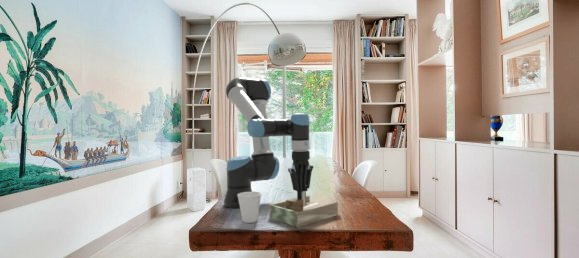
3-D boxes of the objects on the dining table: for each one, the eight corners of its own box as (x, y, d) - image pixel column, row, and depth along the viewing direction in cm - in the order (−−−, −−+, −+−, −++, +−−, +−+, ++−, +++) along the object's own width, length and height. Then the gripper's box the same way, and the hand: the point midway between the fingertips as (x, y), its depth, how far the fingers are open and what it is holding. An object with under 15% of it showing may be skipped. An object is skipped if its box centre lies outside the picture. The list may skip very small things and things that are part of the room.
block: (286, 212, 131) (286, 199, 131) (295, 209, 134) (294, 197, 134) (294, 214, 127) (294, 201, 127) (303, 211, 131) (303, 199, 131)
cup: (258, 225, 123) (257, 197, 123) (233, 224, 125) (233, 196, 125) (265, 217, 133) (264, 191, 133) (242, 216, 135) (242, 191, 135)
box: (269, 217, 133) (269, 204, 133) (308, 207, 149) (308, 195, 149) (298, 227, 120) (298, 213, 120) (337, 214, 136) (337, 202, 136)
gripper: (295, 152, 126) (296, 211, 126) (317, 149, 135) (318, 205, 135) (283, 151, 132) (284, 207, 132) (305, 149, 140) (306, 202, 141)
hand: (301, 206), depth 134 cm, fingers closed
